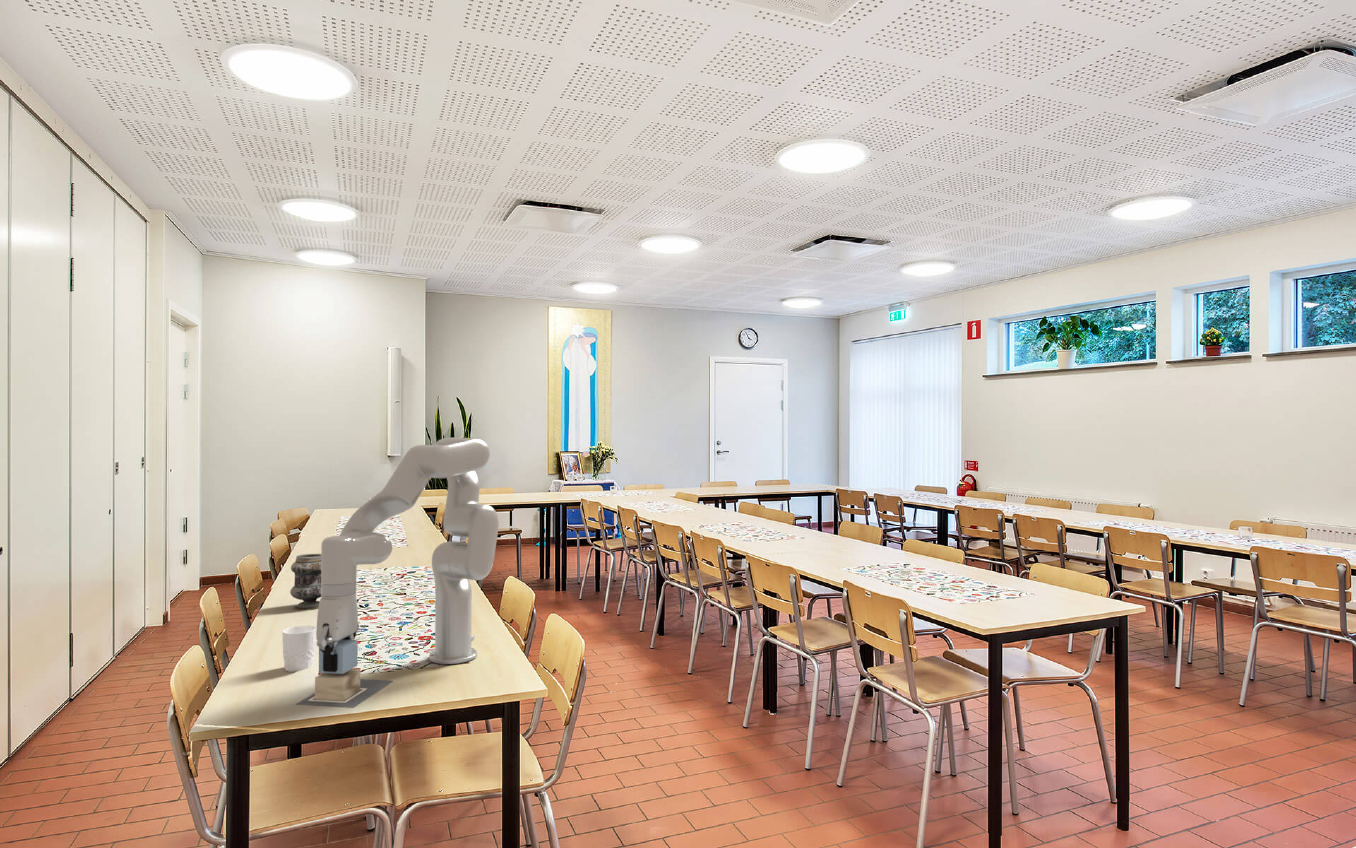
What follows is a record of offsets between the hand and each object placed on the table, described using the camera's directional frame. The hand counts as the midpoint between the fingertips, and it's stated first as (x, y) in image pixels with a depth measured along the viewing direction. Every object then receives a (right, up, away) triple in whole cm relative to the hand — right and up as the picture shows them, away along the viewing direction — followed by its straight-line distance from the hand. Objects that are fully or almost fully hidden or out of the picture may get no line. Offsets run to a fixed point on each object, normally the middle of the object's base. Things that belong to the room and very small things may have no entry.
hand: (338, 666), depth 176 cm
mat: (+1, -7, +2) cm, 7 cm away
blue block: (0, -1, 0) cm, 1 cm away
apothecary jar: (-49, -7, +87) cm, 100 cm away
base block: (0, -7, 0) cm, 7 cm away
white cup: (-20, -7, +21) cm, 29 cm away
